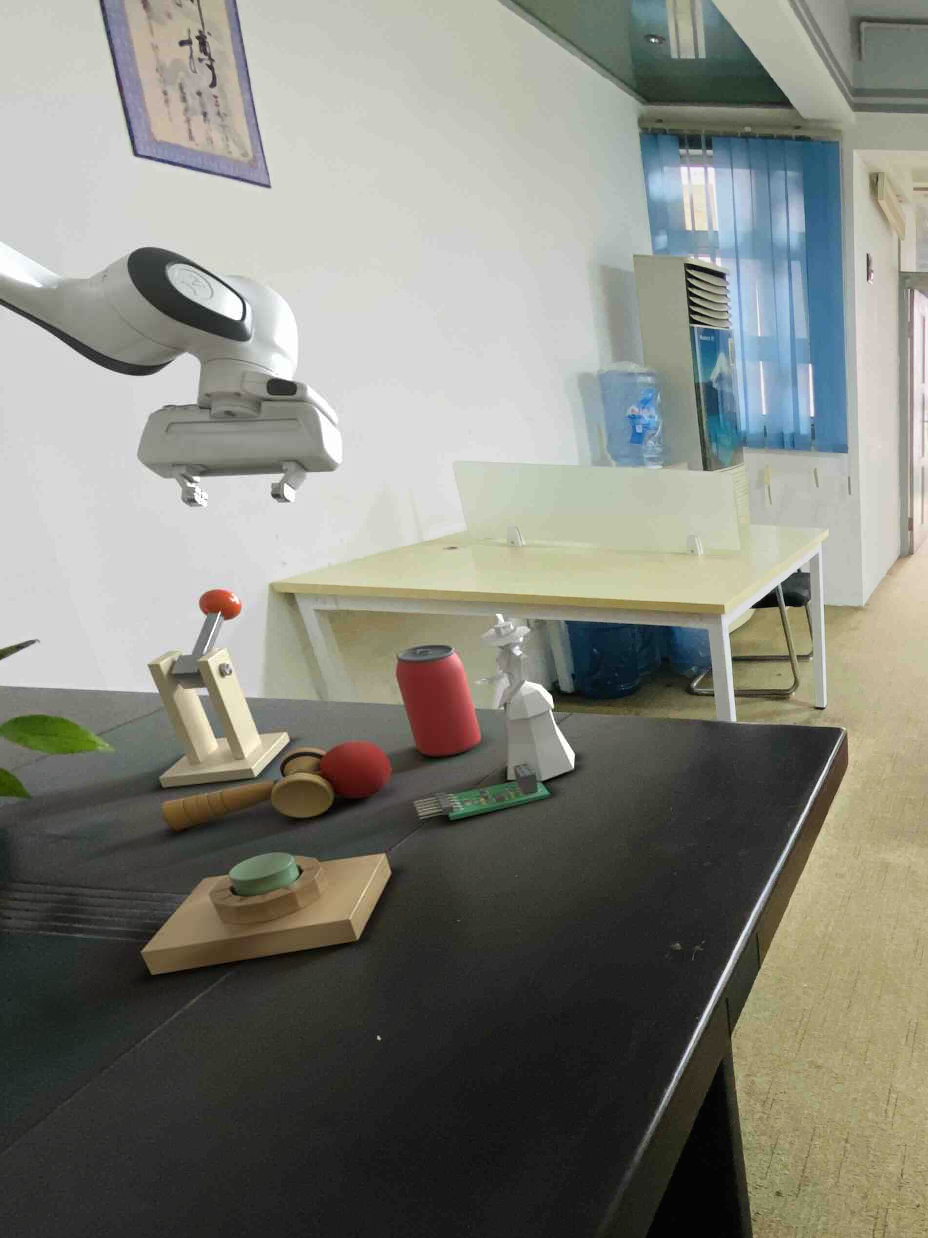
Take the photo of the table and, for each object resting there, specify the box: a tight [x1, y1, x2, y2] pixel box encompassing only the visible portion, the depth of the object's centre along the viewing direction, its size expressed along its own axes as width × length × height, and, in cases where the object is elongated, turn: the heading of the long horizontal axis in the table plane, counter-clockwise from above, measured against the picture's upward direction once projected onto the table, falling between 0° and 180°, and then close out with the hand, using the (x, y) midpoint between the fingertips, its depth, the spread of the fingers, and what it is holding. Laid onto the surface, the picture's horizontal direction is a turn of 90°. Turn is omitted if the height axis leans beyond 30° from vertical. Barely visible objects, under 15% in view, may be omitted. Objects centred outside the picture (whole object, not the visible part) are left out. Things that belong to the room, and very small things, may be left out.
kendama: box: [160, 740, 393, 832], centre depth 82 cm, size 8×6×18 cm
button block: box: [140, 853, 392, 976], centre depth 66 cm, size 13×10×4 cm
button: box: [228, 852, 300, 897], centre depth 65 cm, size 4×4×2 cm
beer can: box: [395, 644, 482, 757], centre depth 94 cm, size 7×7×12 cm
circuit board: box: [413, 763, 551, 821], centre depth 85 cm, size 12×3×5 cm
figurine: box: [475, 613, 576, 782], centre depth 89 cm, size 7×8×18 cm
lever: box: [171, 588, 243, 689], centre depth 90 cm, size 14×4×4 cm, turn 21°
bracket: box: [146, 647, 290, 788], centre depth 88 cm, size 10×8×13 cm
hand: (238, 502), depth 97 cm, fingers open, 8 cm apart
